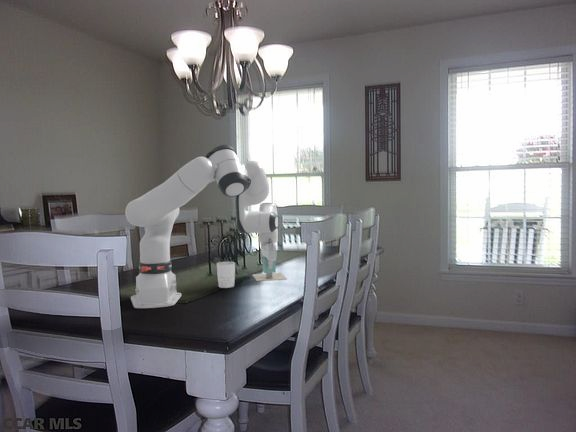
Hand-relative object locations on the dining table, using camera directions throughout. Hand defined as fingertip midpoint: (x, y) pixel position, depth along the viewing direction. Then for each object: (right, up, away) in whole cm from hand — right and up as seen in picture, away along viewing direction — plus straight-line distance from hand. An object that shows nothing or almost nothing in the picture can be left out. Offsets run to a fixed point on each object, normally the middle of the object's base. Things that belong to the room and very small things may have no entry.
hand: (268, 267), depth 214 cm
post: (0, -5, 0) cm, 5 cm away
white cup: (-17, -6, -18) cm, 26 cm away
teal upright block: (0, -2, 0) cm, 2 cm away
